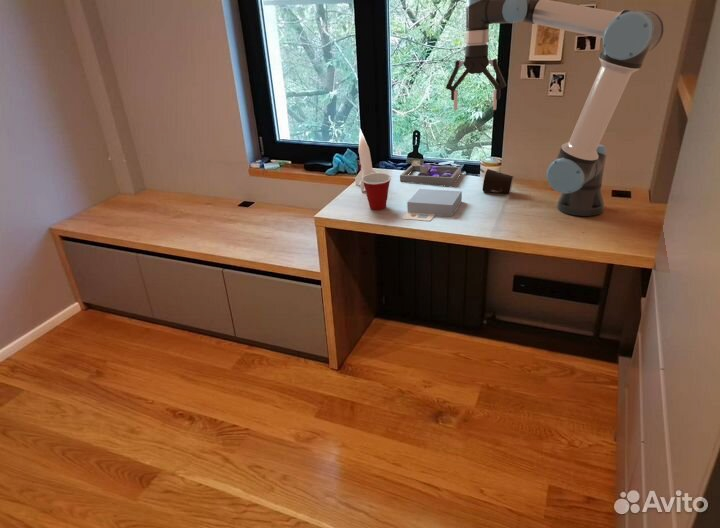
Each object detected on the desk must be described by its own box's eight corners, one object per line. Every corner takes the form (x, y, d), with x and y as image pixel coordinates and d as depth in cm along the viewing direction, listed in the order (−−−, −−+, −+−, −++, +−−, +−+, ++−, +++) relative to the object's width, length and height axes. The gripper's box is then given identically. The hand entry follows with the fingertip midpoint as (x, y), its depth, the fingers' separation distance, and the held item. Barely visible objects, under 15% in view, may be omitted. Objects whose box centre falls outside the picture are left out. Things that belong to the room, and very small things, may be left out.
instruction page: (435, 214, 183) (435, 213, 183) (430, 221, 177) (430, 220, 177) (408, 212, 186) (407, 211, 186) (402, 218, 181) (402, 218, 181)
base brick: (461, 201, 194) (461, 191, 192) (452, 216, 180) (452, 205, 179) (419, 198, 199) (419, 188, 198) (407, 212, 186) (407, 202, 184)
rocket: (356, 187, 216) (345, 128, 206) (377, 181, 218) (368, 123, 207) (361, 193, 208) (350, 132, 197) (384, 187, 209) (374, 127, 198)
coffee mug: (512, 176, 193) (485, 171, 196) (507, 198, 197) (481, 193, 200) (516, 169, 203) (490, 165, 206) (512, 190, 207) (487, 186, 210)
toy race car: (452, 185, 215) (452, 169, 212) (417, 183, 220) (416, 168, 217) (457, 178, 223) (457, 163, 220) (423, 176, 228) (422, 162, 225)
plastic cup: (359, 213, 189) (357, 180, 184) (367, 203, 198) (365, 172, 193) (389, 214, 186) (388, 181, 181) (395, 204, 195) (394, 173, 190)
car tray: (461, 176, 224) (461, 167, 222) (452, 187, 210) (452, 178, 208) (411, 173, 232) (411, 165, 230) (400, 184, 218) (399, 175, 216)
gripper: (516, 41, 174) (512, 107, 182) (442, 45, 182) (442, 108, 191) (514, 42, 167) (510, 111, 176) (437, 46, 176) (437, 111, 185)
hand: (474, 109), depth 184 cm, fingers open, 13 cm apart
